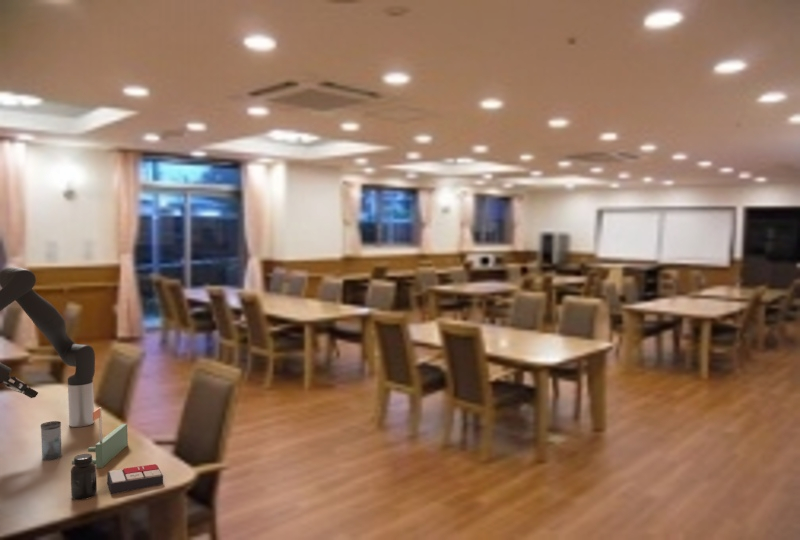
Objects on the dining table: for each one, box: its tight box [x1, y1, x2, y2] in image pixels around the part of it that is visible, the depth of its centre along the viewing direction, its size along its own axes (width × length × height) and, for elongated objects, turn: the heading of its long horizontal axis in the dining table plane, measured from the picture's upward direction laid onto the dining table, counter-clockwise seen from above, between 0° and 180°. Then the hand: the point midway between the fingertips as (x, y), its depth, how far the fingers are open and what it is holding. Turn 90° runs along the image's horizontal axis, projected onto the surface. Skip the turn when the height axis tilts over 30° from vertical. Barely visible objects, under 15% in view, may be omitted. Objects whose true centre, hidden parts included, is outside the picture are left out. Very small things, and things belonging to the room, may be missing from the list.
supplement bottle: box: [70, 453, 98, 501], centre depth 184 cm, size 7×7×12 cm
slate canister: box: [40, 420, 63, 461], centre depth 215 cm, size 6×6×12 cm
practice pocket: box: [71, 407, 129, 469], centre depth 214 cm, size 25×12×20 cm, turn 3°
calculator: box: [106, 463, 164, 495], centre depth 193 cm, size 11×4×15 cm
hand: (35, 395), depth 218 cm, fingers open, 8 cm apart
